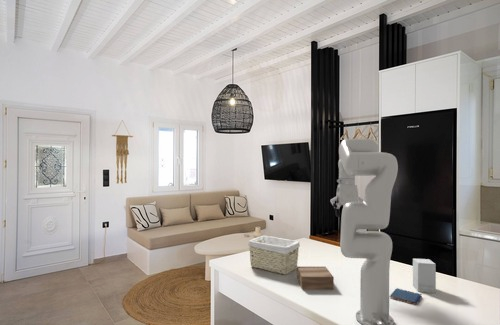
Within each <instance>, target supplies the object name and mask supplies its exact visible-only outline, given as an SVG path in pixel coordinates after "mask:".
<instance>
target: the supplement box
mask: <svg viewBox="0 0 500 325" xmlns="http://www.w3.org/2000/svg"><path fill="white" fill-rule="evenodd" d="M436 266H437V265H436V263H435V262H433V261H432V260H431V259H429V258H427V259H426V258H412V286H413V287H414V289H415V290H416V291H417V292H420V293H433V294H434V293H436V288H437V286H436V285H437V282H436V278H437V277H436V276H437V275H436V273H437V272H436V270H437V269H436Z"/></svg>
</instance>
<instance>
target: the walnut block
mask: <svg viewBox="0 0 500 325" xmlns="http://www.w3.org/2000/svg"><path fill="white" fill-rule="evenodd" d="M296 279H297V281H298V283H299V286H300V288H301V290H305V291H306V290H307V291H309V290H310V291H311V290H312V291H315V290H318V291H327V290H328V291H334V284H335V283H334V280H335V279H334V275H333V274H332V273H331V271H330V270H329V269H328V268H327V267H326V266H297V268H296Z"/></svg>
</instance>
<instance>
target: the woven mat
mask: <svg viewBox="0 0 500 325" xmlns="http://www.w3.org/2000/svg"><path fill="white" fill-rule="evenodd" d="M421 298H423V297H422V294H421V293H418V292H414V291H410V290H406V289H402V288H398V287H397V288H395V289H394V291H392V292H391V294H390V295H389V300H391V299H392V300H395V301H399V302H402V303H403V302H404V303H407V304H410V305H412V304H413V306H416V305H418V303H419V302H420V300H421Z"/></svg>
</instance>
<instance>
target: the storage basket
mask: <svg viewBox="0 0 500 325" xmlns="http://www.w3.org/2000/svg"><path fill="white" fill-rule="evenodd" d="M300 246H301V245H300V241H296V240H293V239H288V238H281V237H277V236H270V235H260V236H257V237H255V238H251V239H250V240H248V249H249V257H250V258H249V260H250V267H251V268H256V269H259V270H265V271H268V272H270V273H277V274H280V275H284V276H285V275H286V276H287V275H288V274H290V273H292V271H294V270H297V267H298V264H299V263H298V260H299V248H300Z"/></svg>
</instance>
